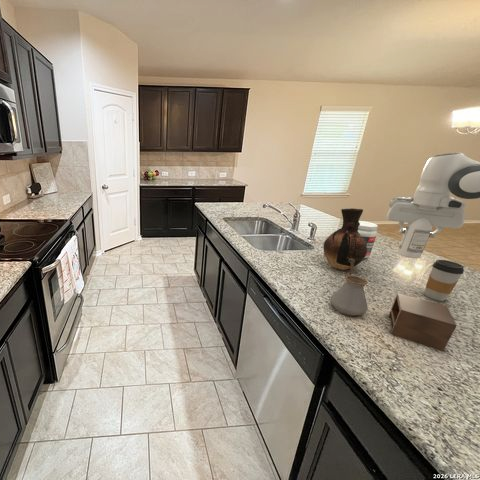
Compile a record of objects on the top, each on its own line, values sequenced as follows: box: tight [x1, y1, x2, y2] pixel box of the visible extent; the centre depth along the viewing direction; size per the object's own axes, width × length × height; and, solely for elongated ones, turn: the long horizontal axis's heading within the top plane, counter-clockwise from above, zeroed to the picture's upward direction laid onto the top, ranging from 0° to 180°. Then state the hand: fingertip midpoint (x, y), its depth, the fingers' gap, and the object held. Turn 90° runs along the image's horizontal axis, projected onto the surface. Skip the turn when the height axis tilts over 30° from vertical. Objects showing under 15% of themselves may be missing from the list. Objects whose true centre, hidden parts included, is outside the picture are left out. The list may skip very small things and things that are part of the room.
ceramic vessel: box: [323, 207, 367, 271], centre depth 122 cm, size 21×18×30 cm
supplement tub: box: [358, 220, 379, 260], centre depth 138 cm, size 13×13×18 cm
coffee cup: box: [423, 259, 465, 302], centre depth 100 cm, size 8×8×15 cm
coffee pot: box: [329, 259, 369, 317], centre depth 96 cm, size 21×12×15 cm, turn 150°
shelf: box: [387, 292, 458, 352], centre depth 82 cm, size 12×12×10 cm
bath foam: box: [396, 218, 434, 259], centre depth 96 cm, size 7×7×20 cm
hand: (416, 235), depth 97 cm, fingers closed on bath foam, 7 cm apart
